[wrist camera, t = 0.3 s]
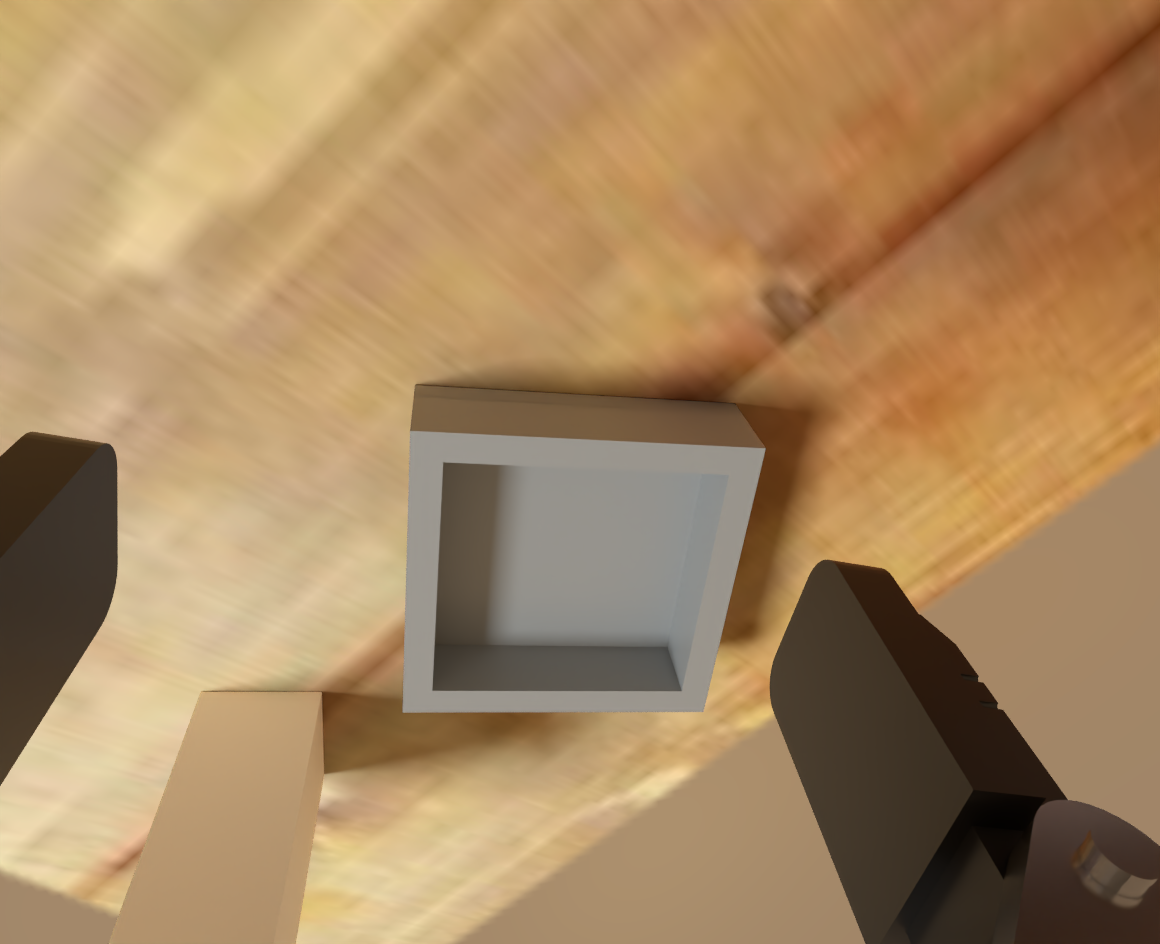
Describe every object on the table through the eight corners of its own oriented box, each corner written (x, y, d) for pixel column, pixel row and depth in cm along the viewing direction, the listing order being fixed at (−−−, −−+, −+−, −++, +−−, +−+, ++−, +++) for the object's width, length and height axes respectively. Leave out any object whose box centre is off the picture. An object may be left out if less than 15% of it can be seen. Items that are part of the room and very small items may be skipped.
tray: (415, 384, 29) (410, 430, 26) (735, 403, 31) (765, 448, 28) (407, 647, 34) (402, 712, 31) (682, 650, 36) (703, 711, 33)
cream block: (201, 691, 34) (85, 1004, 23) (321, 691, 34) (263, 995, 24) (210, 776, 36) (108, 1097, 25) (324, 774, 36) (271, 1086, 26)
